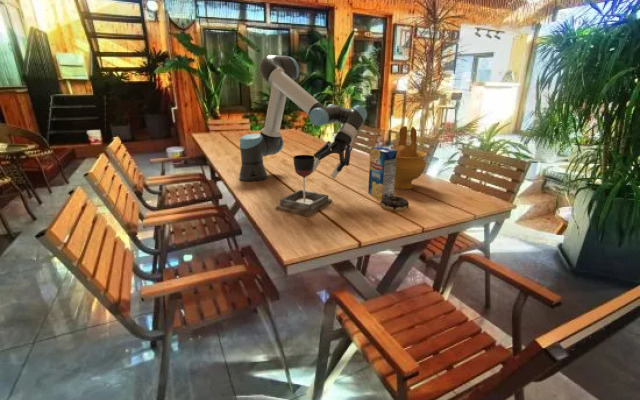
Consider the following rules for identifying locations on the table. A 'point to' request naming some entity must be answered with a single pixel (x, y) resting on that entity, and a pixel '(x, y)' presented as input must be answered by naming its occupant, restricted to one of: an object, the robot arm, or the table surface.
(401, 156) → the decorative bowl
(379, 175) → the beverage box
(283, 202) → the tray
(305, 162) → the wineglass
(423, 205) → the table surface
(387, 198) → the donut
